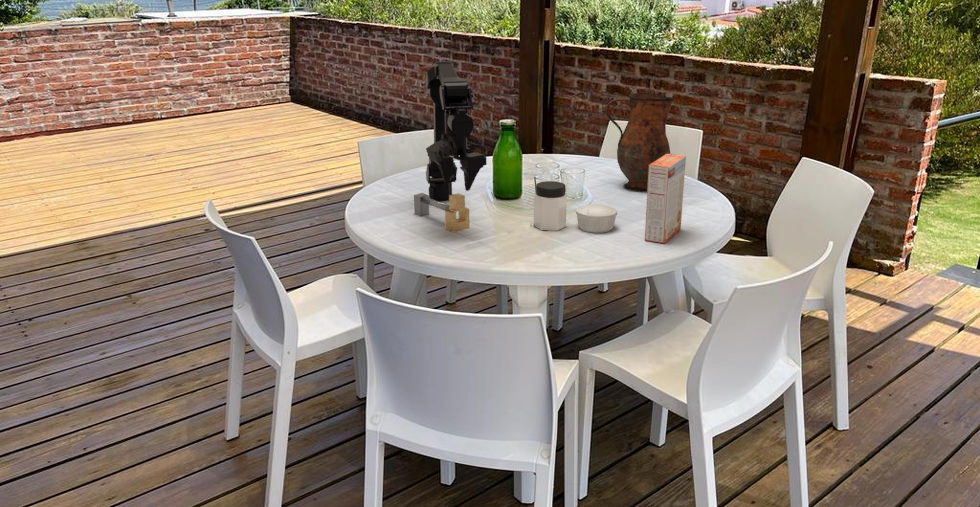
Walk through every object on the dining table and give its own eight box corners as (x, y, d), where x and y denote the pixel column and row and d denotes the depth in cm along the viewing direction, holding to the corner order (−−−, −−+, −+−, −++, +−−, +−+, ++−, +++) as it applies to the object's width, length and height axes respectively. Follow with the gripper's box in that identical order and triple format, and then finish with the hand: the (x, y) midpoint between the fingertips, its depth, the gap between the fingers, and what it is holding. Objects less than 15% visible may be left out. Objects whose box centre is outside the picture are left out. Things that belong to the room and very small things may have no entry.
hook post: (423, 213, 230) (422, 192, 228) (454, 225, 219) (453, 203, 217) (411, 216, 227) (410, 194, 225) (441, 228, 217) (440, 206, 214)
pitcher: (671, 194, 247) (679, 99, 237) (604, 194, 248) (609, 99, 238) (662, 181, 263) (669, 91, 252) (599, 180, 264) (603, 91, 253)
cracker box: (660, 226, 218) (665, 152, 211) (681, 229, 215) (687, 155, 208) (642, 240, 207) (647, 163, 200) (664, 244, 204) (670, 166, 197)
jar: (570, 229, 216) (572, 187, 212) (545, 233, 213) (546, 190, 209) (554, 220, 224) (555, 179, 219) (529, 224, 220) (529, 182, 216)
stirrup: (462, 225, 217) (462, 192, 214) (469, 228, 215) (469, 194, 212) (445, 230, 214) (444, 196, 210) (452, 233, 212) (451, 198, 208)
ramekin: (568, 224, 220) (568, 206, 218) (602, 219, 224) (603, 202, 222) (588, 236, 210) (589, 218, 208) (623, 231, 214) (624, 213, 213)
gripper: (410, 128, 207) (412, 185, 212) (453, 139, 193) (454, 199, 199) (444, 122, 213) (445, 178, 219) (487, 133, 200) (488, 192, 205)
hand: (457, 187), depth 210 cm, fingers open, 9 cm apart
